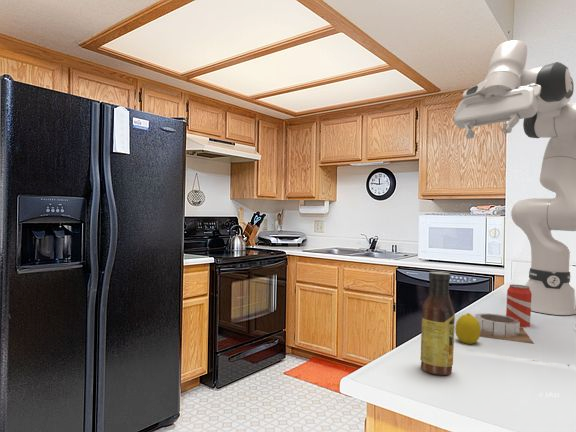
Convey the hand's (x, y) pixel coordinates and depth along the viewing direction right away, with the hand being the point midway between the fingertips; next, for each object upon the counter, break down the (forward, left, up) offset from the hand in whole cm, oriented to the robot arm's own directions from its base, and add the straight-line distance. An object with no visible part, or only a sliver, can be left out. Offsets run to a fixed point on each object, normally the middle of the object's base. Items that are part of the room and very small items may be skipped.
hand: (487, 134), depth 104 cm
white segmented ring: (-7, +5, -52) cm, 52 cm away
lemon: (+7, -3, -53) cm, 53 cm away
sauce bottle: (+27, -10, -53) cm, 60 cm away
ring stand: (-7, +5, -53) cm, 53 cm away
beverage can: (-19, +12, -53) cm, 57 cm away
